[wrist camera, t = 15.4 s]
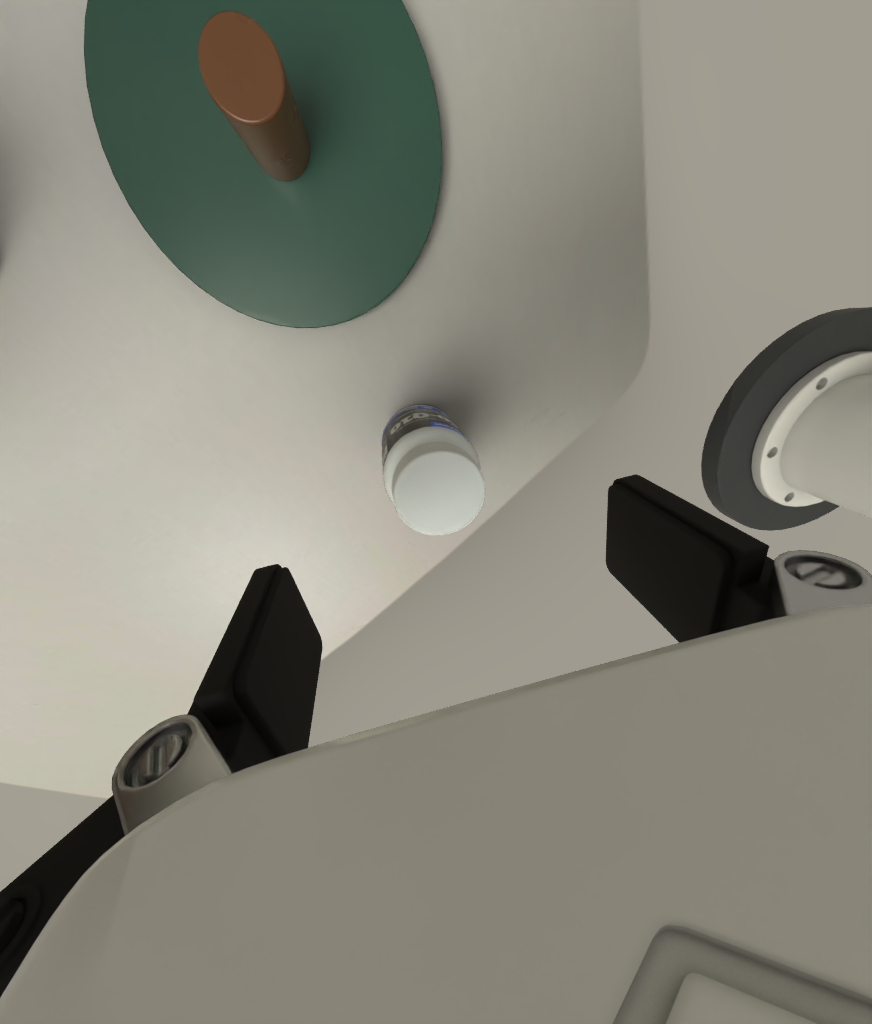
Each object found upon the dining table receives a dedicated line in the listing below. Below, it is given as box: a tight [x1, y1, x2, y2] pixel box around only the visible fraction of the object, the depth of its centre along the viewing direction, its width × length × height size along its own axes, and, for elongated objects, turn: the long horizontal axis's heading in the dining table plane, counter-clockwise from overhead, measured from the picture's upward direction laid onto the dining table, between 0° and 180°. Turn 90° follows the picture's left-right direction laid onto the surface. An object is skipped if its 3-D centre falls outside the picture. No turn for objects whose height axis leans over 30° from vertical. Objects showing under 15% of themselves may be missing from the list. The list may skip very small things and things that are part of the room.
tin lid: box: [84, 0, 442, 328], centre depth 14 cm, size 14×14×6 cm
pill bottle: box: [382, 405, 485, 536], centre depth 19 cm, size 5×5×8 cm
